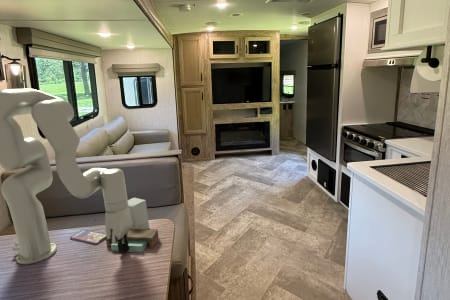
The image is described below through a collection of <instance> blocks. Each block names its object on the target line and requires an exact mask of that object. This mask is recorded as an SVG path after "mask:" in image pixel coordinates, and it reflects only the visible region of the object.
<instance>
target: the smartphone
mask: <svg viewBox="0 0 450 300" xmlns="http://www.w3.org/2000/svg"><path fill="white" fill-rule="evenodd" d="M105 236H106V233H103V232H99V231H94V230H88V229H82V230H79V231H78V232H76V233H75V234H72V235H71V236H70V237H69V239H70V240H72V241H76V242H77V241H78V242H82V243H85V244H90V245H95V246H96V245H99V244H100V243H103V242H104V241H106V237H105Z"/></svg>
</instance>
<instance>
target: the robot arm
mask: <svg viewBox="0 0 450 300" xmlns="http://www.w3.org/2000/svg"><path fill="white" fill-rule="evenodd" d="M74 111H75V110H74V108H73V106H72V105H71V103H69V101H67V100H65V99H64V98H60V97H58V96H55V95H52V94H49V93H47V92H44V91H41V90H39V89H38V90H37V89H34V88H9V89H1V90H0V167H1V168H2V169H4V170H6V171H16V170H20V169H22V168H24V169H23V170H21V171H18V172H16V173H13V174H11V175H10V176H8V177H7V178H5V180H3V182H2V184H1V188H0V191H1V194H2V196H3V198H4V200H5V202H6V203H7V206H8V209H9V212H10V216H11V219H12V222H13V227H14V232H15V236H16V239H17V241H16V242H15V243H14V246H13V247H12V248H11V249H12V251H14V252H15V251H17V253H18V254H17V256H16V263H18V264H21V265H31V264H36V263H39V262H42V261H44V260H46V259H48V258H49V257H51V256H53V254H55V253H56V251H57V249H58V248H57V244H56V243H54V242H51V238H50V233H49V229H48V224H47V220H46V216H45V210H44V206H43V205H42V202H41V201H40V200H39V199H38V198H37V196H36V195H38V194H39V193H41V192H42V191H45V190H47V188H49V187H51V185H52V182H53V180H54V179H53V177H54V176H53V171H52V167H51V163H50V159H49V155H48V152H47V148H46V147H45V145H44V143H43V142H41V140H40V139H37V138H36V137H25V136H24V134H23V130H22V127H21V126H20V124H19V122H18V121H17V120H16V119H14V117H15V116H22V115H29V114H30V115H31V118H32V120H33V121H34V123H35V124H36V125H37V128H39V130H40V131H41V132H42V134H43V135H44V137H45V139H46V140H47V142H48V143H49V144H50V146H51V147H52V149H53V151H54V155H55V156H54V159H55V160H54V162H55V168H56V172H57V175H58V177H59V180H60V181H61V182H62V184H63V185H64V187H65V188H66V190H67V191H68V192H69V193H70V194H71V195H72V196H74V197H75V198H77V199H86V198H89V197H90V196H92V195H93V194H94V193H96V192H97V191H99V190H100V189H101V190H102V196H103V202H104V208H105V216H104V223H105V234H106V235H107V239H111V238H112V244H118V250H119V251H118V253H119V254H127V253H128V251H129V246H128V241H127V240H128V232H129V230H130V228H131V227H132V220H131V214H130V210H129V206H128V200H129V199H128V194H127V193H128V192H127V186H126V177H125V173H124V170H123V169H121V168H117V167H116V168H104V167H103V168H102V167H92V168H89V169H87V170H85V171H82V170H81V169H80V166H79V165H78V162H77V159H76V158H77V155H76V154H77V150H78V147H79V145H80V141H81V138H80V136H79V135H78V134H77V132H76V130H75V129H74V127H73V126H72V124H71V121H72V120H73V119H74V116H75V112H74Z"/></svg>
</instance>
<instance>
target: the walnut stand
mask: <svg viewBox="0 0 450 300" xmlns="http://www.w3.org/2000/svg"><path fill="white" fill-rule="evenodd" d="M105 237H106V239H105V241H106V242H105V243H106V246H107V247H111V244H112V238H111V239H107V235H106V236H105ZM128 239H148V240H149V244H148V245H149V248H150V249H153V248H154V247H155V245H157V242H158V241H159V240H160V239H159V230H158V229H157V228H155V229H151V228H148V229H130V230H129V232H128Z"/></svg>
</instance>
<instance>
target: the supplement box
mask: <svg viewBox="0 0 450 300" xmlns="http://www.w3.org/2000/svg"><path fill="white" fill-rule="evenodd" d="M128 206H129V210H130V214H131V220H132V227H131V228H130V229H150V225H149V224H150V222H149V215H148V209H147V200H146V199H142V198H138V197H132V198H130V199H128Z"/></svg>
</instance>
